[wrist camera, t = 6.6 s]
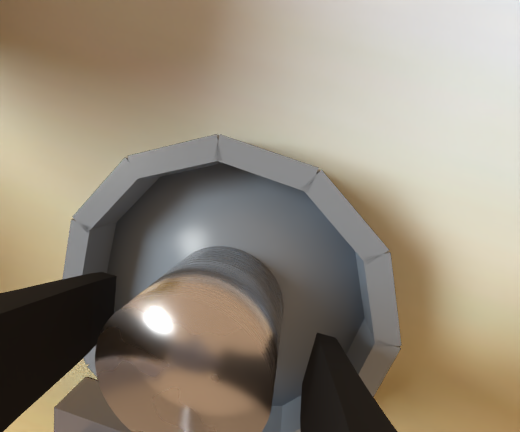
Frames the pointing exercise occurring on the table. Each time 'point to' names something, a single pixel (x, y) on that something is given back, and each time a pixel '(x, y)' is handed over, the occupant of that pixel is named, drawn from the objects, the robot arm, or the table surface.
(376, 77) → the table surface
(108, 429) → the scale
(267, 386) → the tan glossy rounded piece
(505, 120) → the table surface
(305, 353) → the tray
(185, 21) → the table surface
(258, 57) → the table surface
